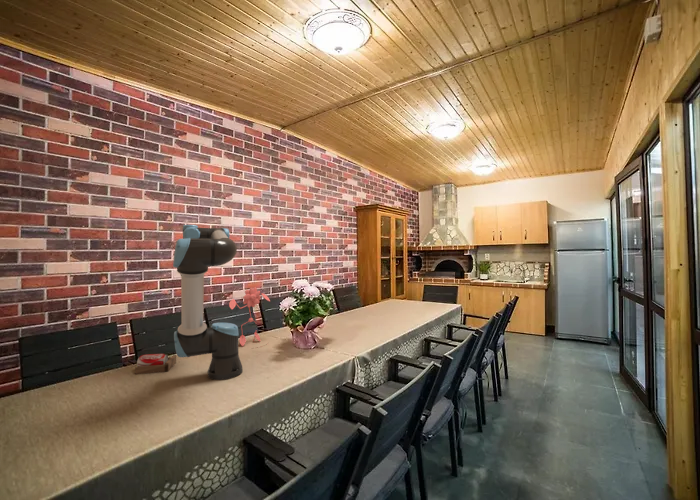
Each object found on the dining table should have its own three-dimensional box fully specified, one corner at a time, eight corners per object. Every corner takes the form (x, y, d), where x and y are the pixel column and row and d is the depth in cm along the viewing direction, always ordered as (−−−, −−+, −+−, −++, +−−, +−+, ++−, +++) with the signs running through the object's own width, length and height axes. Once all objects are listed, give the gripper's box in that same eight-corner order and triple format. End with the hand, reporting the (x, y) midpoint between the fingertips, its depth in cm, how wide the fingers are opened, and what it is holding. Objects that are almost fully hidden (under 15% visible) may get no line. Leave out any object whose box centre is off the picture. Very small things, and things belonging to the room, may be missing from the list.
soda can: (134, 369, 151) (162, 367, 153) (137, 353, 154) (164, 352, 156) (140, 370, 157) (167, 369, 159) (143, 355, 160) (169, 354, 162)
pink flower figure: (226, 347, 190) (226, 288, 190) (263, 338, 210) (264, 284, 209) (239, 353, 180) (240, 291, 180) (277, 343, 199) (278, 287, 199)
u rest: (168, 371, 153) (168, 363, 153) (135, 374, 150) (135, 365, 150) (176, 362, 165) (176, 355, 165) (145, 365, 161) (145, 357, 161)
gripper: (205, 253, 179) (205, 295, 179) (179, 253, 177) (179, 296, 177) (202, 253, 172) (202, 297, 172) (175, 253, 169) (175, 298, 169)
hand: (190, 296), depth 174 cm, fingers closed
